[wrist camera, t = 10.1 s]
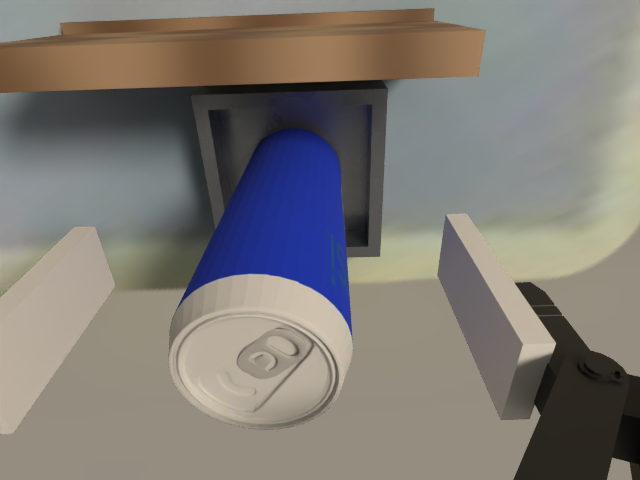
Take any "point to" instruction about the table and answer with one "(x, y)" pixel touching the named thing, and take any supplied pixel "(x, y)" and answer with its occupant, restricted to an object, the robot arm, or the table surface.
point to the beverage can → (270, 294)
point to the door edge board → (242, 51)
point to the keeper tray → (310, 114)
